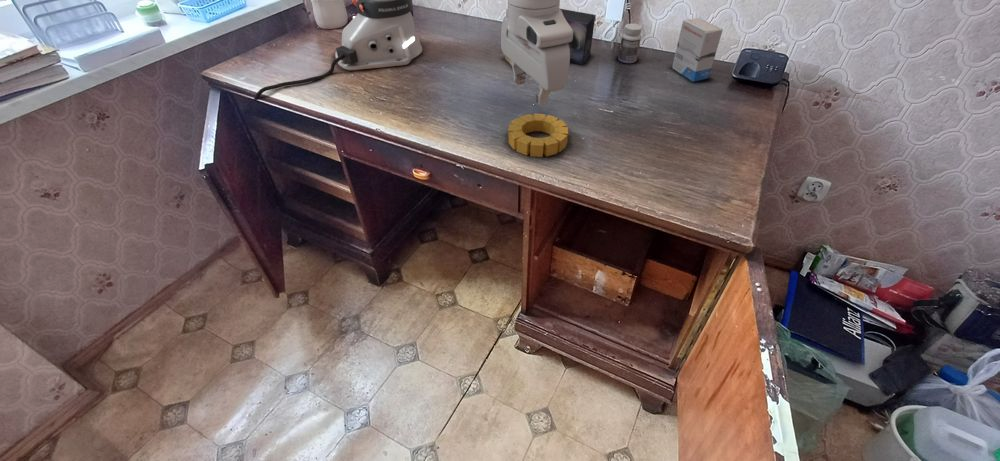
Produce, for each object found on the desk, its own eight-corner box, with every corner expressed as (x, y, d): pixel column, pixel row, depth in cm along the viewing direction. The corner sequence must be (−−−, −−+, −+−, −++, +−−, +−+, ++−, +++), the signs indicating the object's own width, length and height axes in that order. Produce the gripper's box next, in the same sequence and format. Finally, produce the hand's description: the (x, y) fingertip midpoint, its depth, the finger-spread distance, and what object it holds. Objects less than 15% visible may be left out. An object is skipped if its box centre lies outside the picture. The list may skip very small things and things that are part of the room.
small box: (543, 57, 121) (546, 15, 114) (553, 48, 125) (556, 7, 118) (582, 65, 118) (587, 22, 110) (591, 55, 122) (596, 13, 114)
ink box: (709, 79, 112) (725, 29, 104) (691, 82, 110) (706, 32, 102) (686, 64, 118) (700, 16, 109) (669, 68, 116) (682, 19, 108)
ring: (524, 162, 87) (525, 150, 85) (499, 132, 95) (499, 121, 93) (578, 148, 91) (579, 136, 89) (549, 120, 98) (550, 109, 96)
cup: (325, 32, 134) (316, -4, 127) (310, 23, 140) (300, -12, 133) (355, 24, 139) (347, -12, 132) (338, 15, 144) (330, -19, 137)
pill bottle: (621, 54, 122) (627, 21, 117) (639, 58, 121) (645, 24, 115) (615, 61, 119) (620, 27, 114) (632, 65, 118) (639, 31, 112)
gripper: (492, 3, 87) (493, 74, 96) (544, 41, 73) (540, 120, 82) (522, -2, 88) (521, 69, 98) (579, 35, 75) (571, 112, 84)
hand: (530, 93), depth 90 cm, fingers open, 8 cm apart
